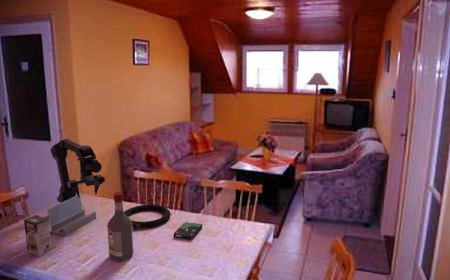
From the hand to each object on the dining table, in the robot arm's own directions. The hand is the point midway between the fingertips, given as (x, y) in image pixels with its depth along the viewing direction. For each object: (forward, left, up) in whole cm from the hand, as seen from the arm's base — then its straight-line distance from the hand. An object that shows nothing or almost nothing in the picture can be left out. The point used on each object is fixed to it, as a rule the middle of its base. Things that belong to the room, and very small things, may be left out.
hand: (87, 196), depth 195 cm
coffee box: (+3, -37, -14) cm, 40 cm away
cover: (-6, -10, -5) cm, 13 cm away
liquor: (+41, -27, -14) cm, 51 cm away
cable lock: (+29, +11, -14) cm, 35 cm away
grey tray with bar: (-1, -10, -14) cm, 17 cm away
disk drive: (+59, +5, -14) cm, 61 cm away
